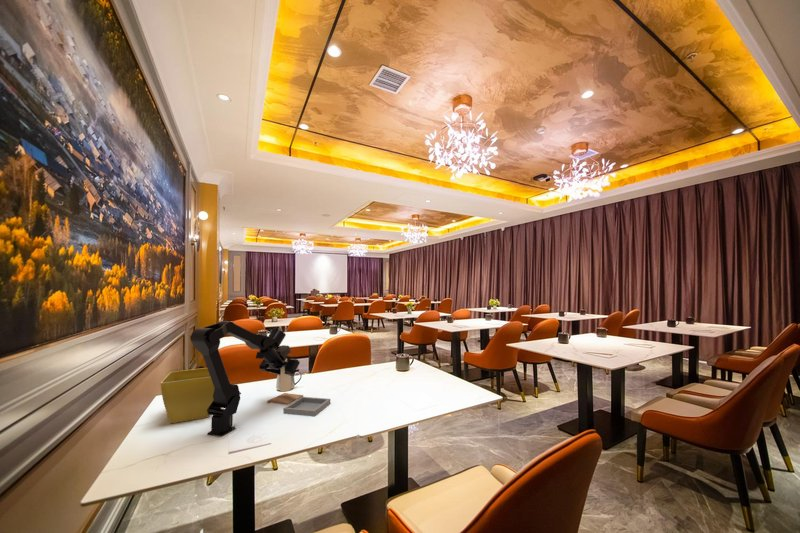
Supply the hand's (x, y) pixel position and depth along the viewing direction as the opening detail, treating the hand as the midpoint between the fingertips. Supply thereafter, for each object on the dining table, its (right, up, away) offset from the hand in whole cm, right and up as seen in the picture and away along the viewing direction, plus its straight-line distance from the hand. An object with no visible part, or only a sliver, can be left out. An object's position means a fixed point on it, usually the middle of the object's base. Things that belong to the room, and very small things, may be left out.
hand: (288, 375), depth 144 cm
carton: (0, -6, -2) cm, 7 cm away
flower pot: (-33, -10, -18) cm, 39 cm away
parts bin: (+13, -10, -14) cm, 21 cm away
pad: (0, -11, -2) cm, 11 cm away
